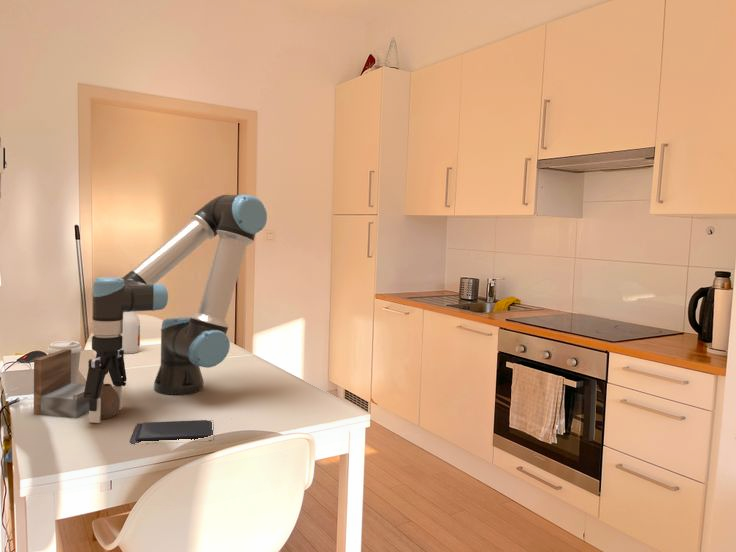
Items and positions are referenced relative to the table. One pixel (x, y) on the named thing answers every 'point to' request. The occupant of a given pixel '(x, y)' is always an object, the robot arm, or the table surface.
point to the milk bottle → (131, 333)
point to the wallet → (171, 430)
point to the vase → (109, 401)
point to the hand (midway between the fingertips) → (105, 415)
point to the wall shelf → (57, 387)
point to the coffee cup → (75, 355)
